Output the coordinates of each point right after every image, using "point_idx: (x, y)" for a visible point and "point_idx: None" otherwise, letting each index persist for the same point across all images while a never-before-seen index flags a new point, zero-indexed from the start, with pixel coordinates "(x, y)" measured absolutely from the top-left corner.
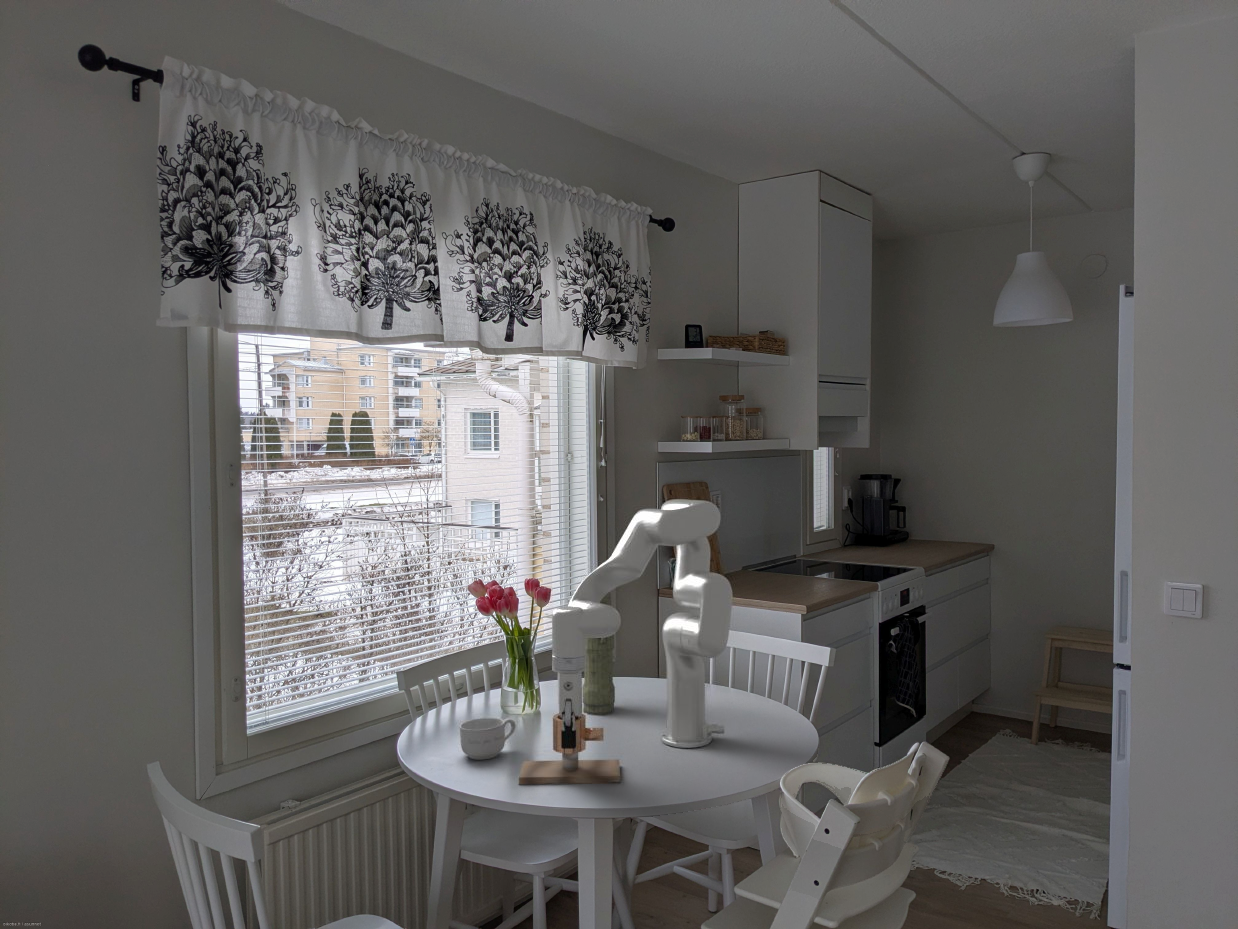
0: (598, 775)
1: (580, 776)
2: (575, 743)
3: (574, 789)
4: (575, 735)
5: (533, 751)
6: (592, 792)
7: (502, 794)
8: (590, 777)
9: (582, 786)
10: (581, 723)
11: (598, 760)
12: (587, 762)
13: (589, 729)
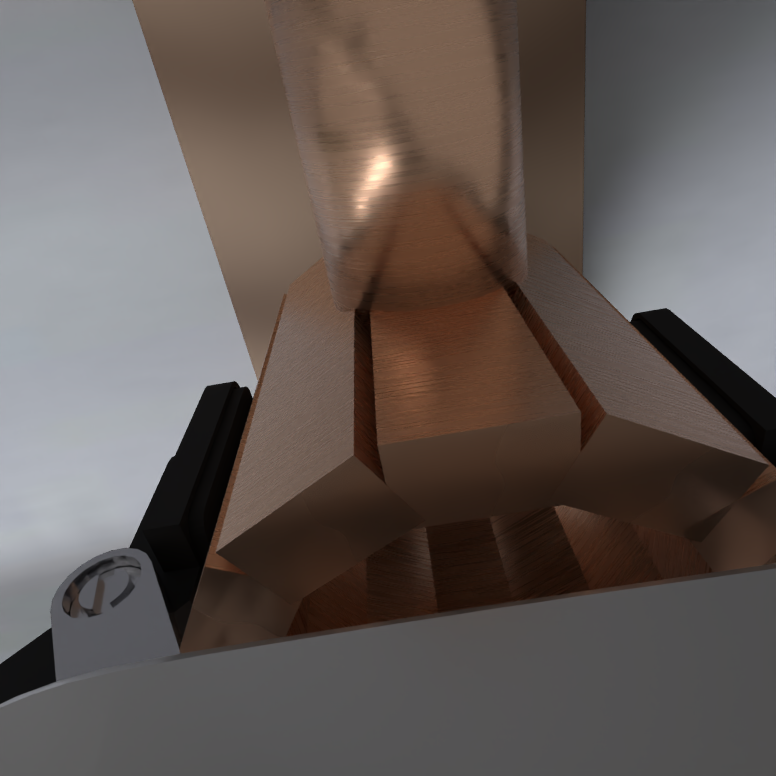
0: (571, 4)
1: (583, 179)
2: (692, 333)
3: (673, 191)
4: (754, 385)
5: (57, 566)
6: (757, 26)
7: None
8: (583, 86)
9: (622, 140)
10: (705, 411)
11: (179, 83)
12: (257, 184)
13: (482, 222)
